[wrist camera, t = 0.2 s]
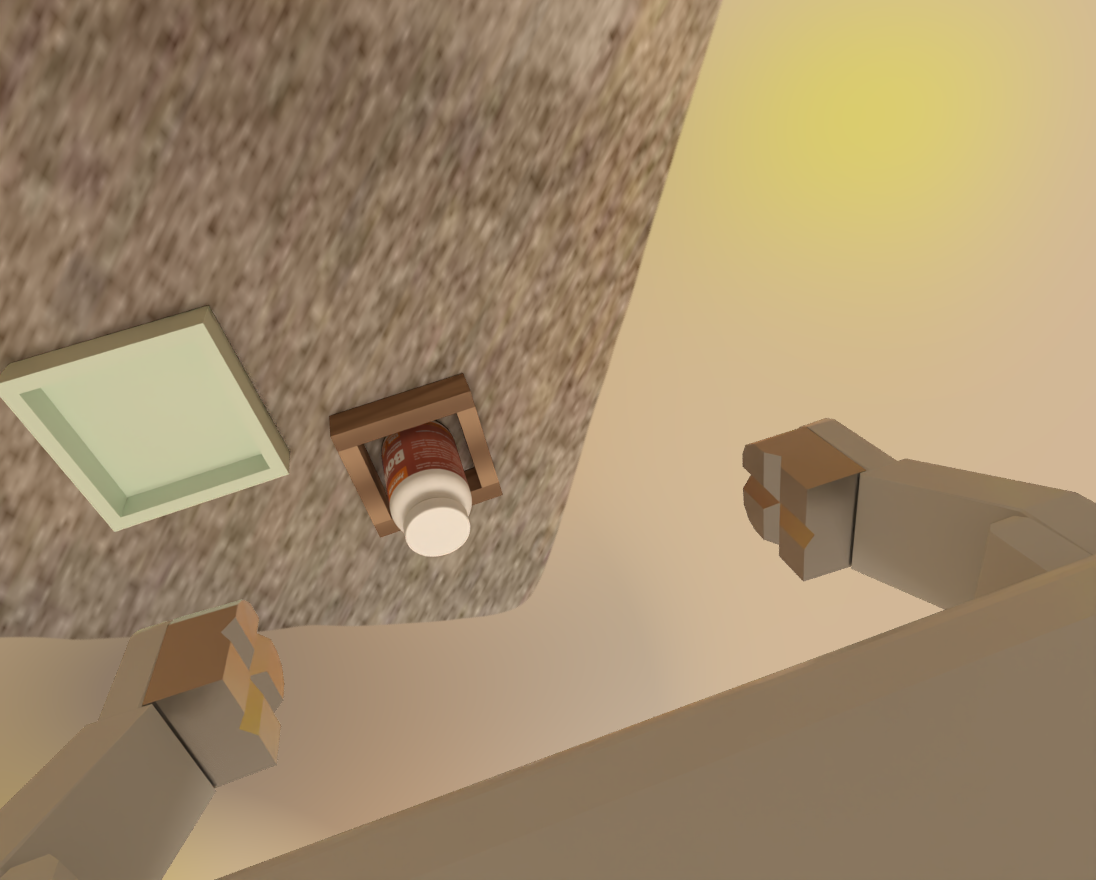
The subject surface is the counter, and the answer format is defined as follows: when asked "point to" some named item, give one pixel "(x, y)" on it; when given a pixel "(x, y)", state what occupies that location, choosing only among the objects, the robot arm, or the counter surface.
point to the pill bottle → (427, 488)
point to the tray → (149, 417)
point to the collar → (400, 415)
